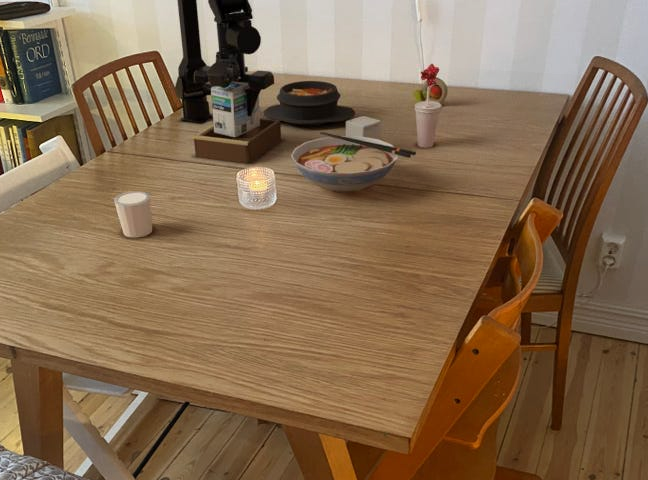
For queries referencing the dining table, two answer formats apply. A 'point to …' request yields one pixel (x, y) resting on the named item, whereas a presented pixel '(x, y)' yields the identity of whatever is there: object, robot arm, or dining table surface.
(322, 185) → the ramen bowl
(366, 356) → the dining table surface
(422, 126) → the smoothie
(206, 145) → the wooden box
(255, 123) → the light bulb box
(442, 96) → the multicoloured rounded piece
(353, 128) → the product box
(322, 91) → the casserole
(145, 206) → the shot glass
